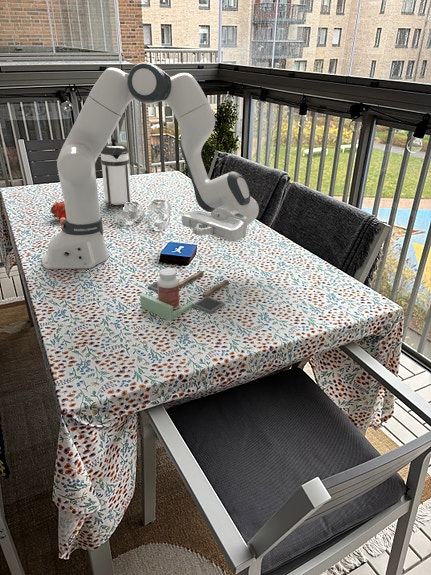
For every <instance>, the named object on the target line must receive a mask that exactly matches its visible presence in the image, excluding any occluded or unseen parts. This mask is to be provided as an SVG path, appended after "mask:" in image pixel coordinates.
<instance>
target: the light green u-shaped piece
mask: <svg viewBox="0 0 431 575" xmlns="http://www.w3.org/2000/svg"><path fill="white" fill-rule="evenodd" d="M139 299H140V308H142V309H144V310H146V311H149V312H150V313H153V314H154V315H157V316H159V317H162V318H164V319H166V320H168V321H172V320H174V319H175V318H177V317H179V316H180V315H182V314H183V313H185V312H187V311H189V309H191V308H192V307H193V304H194V302H192V301H189V302H187V303H186V304H183V305H182V306H181V307H178V308H177V309H175V311H174V310H173V306H171V305H169V304H166V303H164V302H162V301H159V300H158V294H156V295H154V296H150V295H147V294H146V293H141V294H140V295H139ZM193 308H194V307H193Z"/></svg>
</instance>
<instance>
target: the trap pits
mask: <svg viewBox="0 0 431 575" xmlns="http://www.w3.org/2000/svg"><path fill="white" fill-rule="evenodd" d="M157 281H158V280H157ZM157 281H155V282H152V283H151V284H149V285H148V286H147V289H150V290H152V291H155V292H156V293H158V289H157ZM224 305H225V302H223V301H220V300H217V299H215V298H212V297H211V296H206V297H202V298H201V299H199V300H197V301H196V302H194V303H193V308H196V309H197V310H201V311H202V312H205V313H208V314H210V315H211V314H213V313H214V312H216V311H217V310H219V309H221V307H223V306H224Z"/></svg>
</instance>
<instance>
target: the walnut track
mask: <svg viewBox="0 0 431 575" xmlns="http://www.w3.org/2000/svg"><path fill="white" fill-rule="evenodd" d="M203 275H204V271H203V270H200V271H198V272H196V273H194V274H192V275H191V276H188V277H186V278H185V279H183V280H181V281H179V289H180V288H182V287H183V286H186V285H187V284H189V283H192V281H194V280H197V279H198V278H200V277H201V276H203ZM229 283H230V281H229V280H227V279H224V280H223V281H222V282H220V283H218V284H216V285H215V286H213V287H211V288H210V289H209V290H206V291H205V292H204V293H202V298H204V297H206V296H208V297H211V296H212V295H213V294H214V293H216V292H218V291H219V290H221V289H223V288H224V287H225V286H227V285H229Z"/></svg>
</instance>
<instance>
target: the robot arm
mask: <svg viewBox="0 0 431 575" xmlns="http://www.w3.org/2000/svg"><path fill="white" fill-rule="evenodd" d="M134 100H135V101H138V102H140V103H143V104H145V105H156V104H160V103H161V102H163V103H166V105H168V107H169V108H170V109H171V111H172V113H173V115H174V117H175V119H176V121H177V123H178V127H179V130H180V131H179V132H180V139H179V140H180V141H179V146H180V152H181V154H182V158H183V160H184V163H185V166H186V168H187V172H188V176H189V178H190V181H191V183H192V186H193V187H192V188H193V190H194V196H195V201H196V203H197V204H198V206H199V207H200V208H201V209H202V210H204V211H201V210H194V211H189V212H185V213H183V214H182V216H181V224H182V226H183V227H186V228H189V229H192V234H193V235H196V236H199V237H202V236H207V235H208V236H210V235H211V236H214V237H216V238H220V239H223V240H225V241H226V240H227V241H229V242H238V241H240V240H241V239H243V238H246V237H247V233H248V232H247V231H248V226H249V225H250V224H251V223H253V222H255V220H256V219H257V217H258V215H259V212H260V211H259V210H260V207H259V204H258V202H257V201H256V199H254V198H253V197H252V196H251V190H250V187H249V183H248V181H247V179H246V178H245V177H244V175H242V174H241V173H239V172H237V171H234V170H233V171H230V172H229V171H228V172H227V173H224V174H222V175H220V176H217V177H216V178H212V179H210V178H209V177H208V173H207V171H206V168H205V164H204V162H203V158H202V149H203V147H204V145H205V143H206V142H207V141H208V140H209V138H210V137H211V135H212V133H213V132H214V128H215V125H216V116H215V115H214V111H213V109H212V107H211V105H210V103H209V100H208V98H207V96H206V95H205V93H204V91H203V89H202V86H201V85H200V84H199V83H198V81H197V80H196V78H195V77H194V76H193V75H192V74H190V73H188V72H179V73H176V74H174V75H172V76H170V75H169V74H168V73H166V72H165V71H164V70H163V69H162V68H161V67H159V66H158V65H156V64H153V63H152V62H145V61H143V62H140V63H137V64H135V65H133V67H131V69H130V70H129V73H128V72H125V71H123V70H121V69H120V68H117V67H108V68H106V69H105V70H104V71H103V72H102V73H101V75H100V76H99V78H98V79H97V80H96V81H95V83H94V85H93V87H92V88H91V90H90V91H89V93H88V95H87V97H86V99H85V102H84V104H83V105H82V108H81V109H80V112H79V113H78V115H77V118H76V120H75V121H74V123H73V125H72V127H71V129H70V131H69V133H68V134H67V137H66V139H65V141H64V143H63V145H62V147H61V149H60V152H59V155H58V157H57V160H56V166H57V173H58V178H59V183H60V188H61V191H62V196H63V201H64V203H65V210H66V218H67V219H65V218H64V217H62V218H61V219H60V220H59V223H60V228H61V231H60V232H58V233H57V234H56V235H55V236H54V237H52V238H51V239H50V241H49V242H48V244H47V251H46V252H44V254H42V257H41V263H42V266H43V267H44V268H45V269H49V270H55V269H56V270H57V269H59V270H60V269H61V270H64V269H66V270H67V269H68V270H69V269H92V268H93V267H95V266H96V265H99V264H101V263H103V262H105V261H107V260H108V259H109V257H110V254H109V251H108V248H107V246H106V243H105V238H104V221H103V218H102V216H101V210H100V209H101V208H100V198H99V191H98V184H97V175H96V163H97V160H98V159H99V156H101V154H100V153H101V151H102V150H103V148H104V147H105V145H106V144H108V143H109V140H111V137H112V135H113V133H114V131H115V130H116V128H117V126H118V124H119V122H120V120H121V118H122V116H123V114H124V113H125V111H126V109H127V107H128V105H129V104H130V103H131V102H132V101H134Z"/></svg>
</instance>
